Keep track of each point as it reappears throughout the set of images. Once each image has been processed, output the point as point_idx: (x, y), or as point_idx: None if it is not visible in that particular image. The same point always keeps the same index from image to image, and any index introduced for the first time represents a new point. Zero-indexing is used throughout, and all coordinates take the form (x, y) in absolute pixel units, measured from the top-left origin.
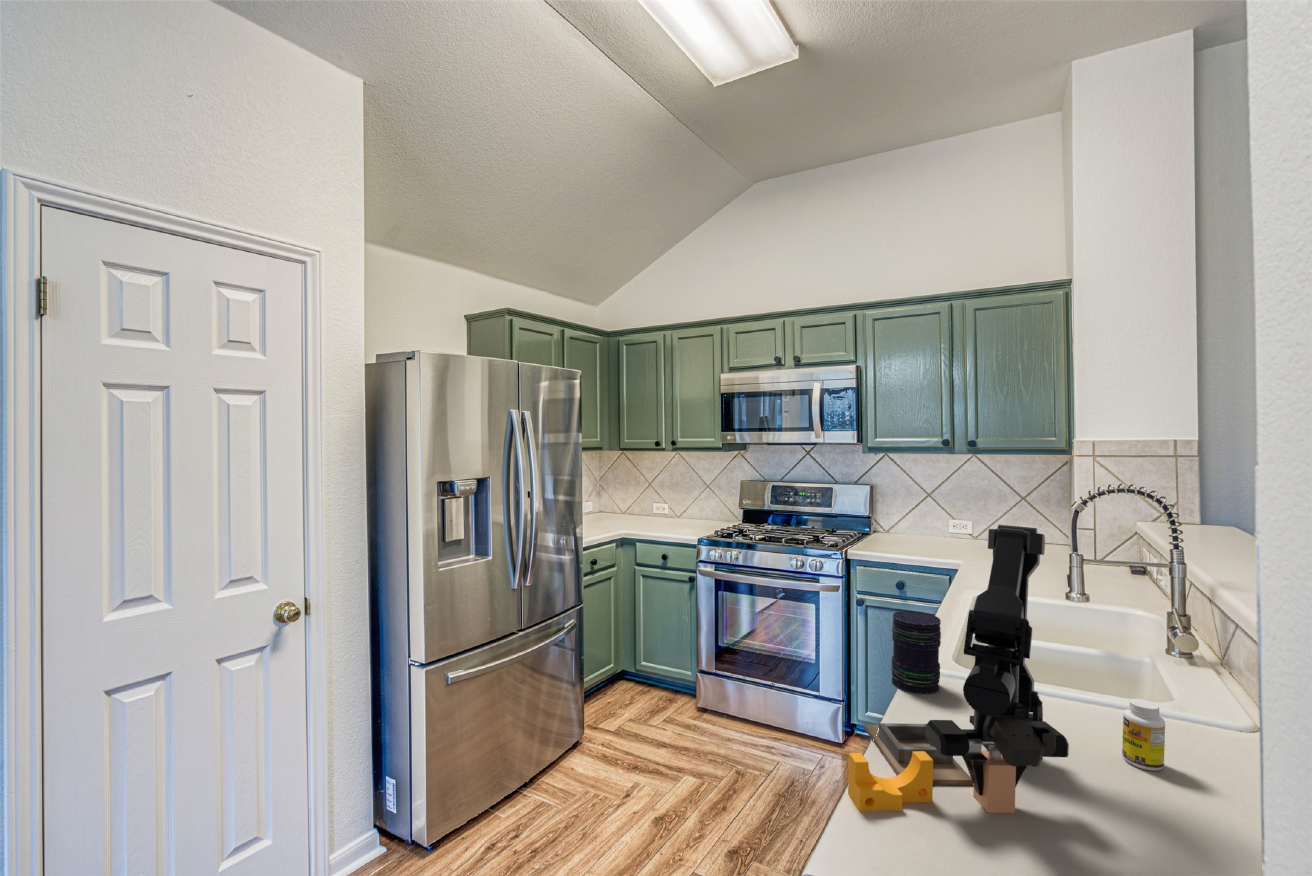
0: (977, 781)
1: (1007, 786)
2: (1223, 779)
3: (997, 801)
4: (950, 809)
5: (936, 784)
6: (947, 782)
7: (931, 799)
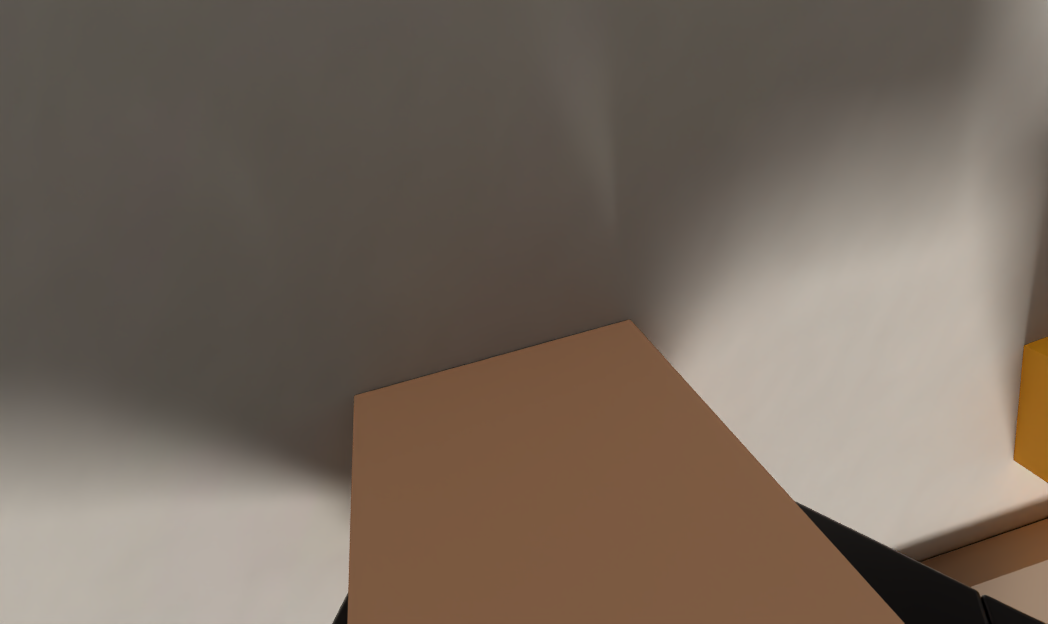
0: (886, 546)
1: (481, 586)
2: None
3: (568, 405)
4: (939, 272)
5: None
6: None
7: (1045, 352)
